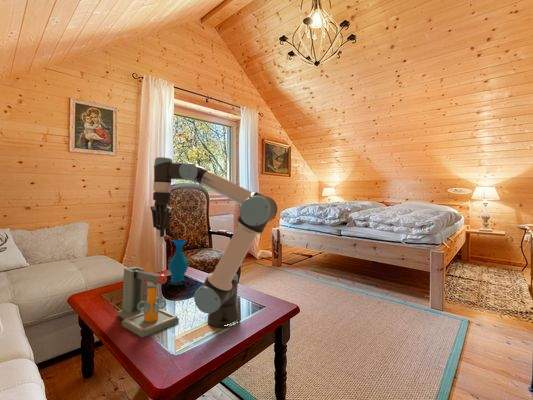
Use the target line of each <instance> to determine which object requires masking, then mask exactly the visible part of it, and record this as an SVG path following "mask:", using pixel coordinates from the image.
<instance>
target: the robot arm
mask: <svg viewBox="0 0 533 400" xmlns="http://www.w3.org/2000/svg"><path fill="white" fill-rule="evenodd" d="M153 165H154V166H153V184H152V185H153V186H152V187H153V188H152V190H153V193H152V200H153V201H154V205H153V206H150V211H151V215H152V216H151V217H152V227H153V228H155V230H156V243H155V244H156V245H162V244H163V245H164V241H165V235H166V234H165V231H166V229H169V226H170V225H169V224H170V220H171V215H172V212H173V210H174V208H173V207H170V201H171V200H172V199H171V197H172V195H171V194H172V193H171V191H172V180H184V181H192V182H196V183H197V184H199V185H201V186H203V187H205V188H208V189H210V190H211V191H212V192H215V193H217V194H219V195H221V196H222V197H225V198H226V199H229V200H231V201H233V202H234V203H236V204H238V205H240V208H239V216H238V217H237V225H238V226H237V227H236V229H235V231H234V233H233V234H232V237H231V238H230V240H229V242H228V244H227V246H226V247H225V250H224V252H223V254H222V255H221V258H220V259H219V261H218V263H217V265H216V267H215V268H214V271H213V272H210V273H209V274H207V276H206V277H205V280H204V282H203V284H202V285H201V286H199V287H198V288H197V289H196V290H195V292H194V296H193V299H194V300H193V301H194V303H195V306H196V307H197V309H198V310H199V311H201V312H202V313H203V314H207V323H208V324H209V325H210V326H212V327H215V328H222V329H223V328H225V329H226V328H229V327H228V326H229V325H228V326H224V325H227V324H230V323H232V322H234V321H236V320H237V319H238V318H239V316H240V312H239V310H238V309H239V308H238V304H237V303H238V286H239V285H238V284H239V283H238V282H239V276H238V274H237V273H238V270H239V268H240V266H241V264H242V263H243V261H244V259H245V258H246V255H247V254H248V252H249V250H250V248H251V246H252V245H253V242H254V241H255V239H256V237H257V235H260V234H262V233H263V232H264V230H265V228H266V227H267V224H268V223H269V222H272V220H274V218H275V217H276V216H277V213H278V205H277V203H276V201H275V200H274V199H273V198H272V197H270V196H268V195H264V194H261V193H259V192H257V191H255V192H253V191H250V190H248V189H246V188H244V187H242V186H240V185H238V184H236V183H234V182H232V181H230V180H228V179H226V178H224V177H223V176H220V175H219V174H216V173H214V172H211V171H210V170H208V169H207V168H205V167H204V166H201V165H197V164H195V163H193V162H187V161H185V162H173V159H172V158H170V157H166V156H165V157H161V156H160V157H156V158H155V159H154V164H153ZM239 319H240V318H239Z"/></svg>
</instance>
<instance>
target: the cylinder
mask: <svg viewBox="0 0 533 400" xmlns="http://www.w3.org/2000/svg"><path fill="white" fill-rule="evenodd" d="M158 287H159V286H158ZM158 287H155V288H147V297H146V299H145V300H143V301H141V302H139V303H138V305H137V309H138V310H140V311H143V313H144V321H145V322H154V321H156V320H158V313H159V309H162V310H164V309H165V308H166V306H167V302H166V300H165V299H160V297H159V296H158ZM160 302H162V303H164V305H163V306H161V307H160V306H159V305H160ZM141 303H142V304H144V305H143V309H140V308H139V305H140V304H141Z"/></svg>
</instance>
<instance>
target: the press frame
mask: <svg viewBox="0 0 533 400" xmlns="http://www.w3.org/2000/svg"><path fill="white" fill-rule="evenodd" d="M133 270H142V271H145V268H141V267H139V266H132V267H126V268H123V280H122V281H123V283H122V284H123V285H122V289H123V290H122V302H121V303H122V305H121V310H118V311H117V316H118V317H120V318H121V319H123V320H122V321H121V326H122V327H123V328H125V329H127V330H128V331H130V332H132V333H133V334H135V335H137V336H139V337H140V338H144V337H147V336H150V335H152V334H155V333H157V332H159V331H162V330H164V329H166V328H168V327H169V328H170V327H171V326H174V325H176V324H178V323H180V321H179V319H180V318H179V317H178V315H176V314H175V315H174V314H172V313H171V312H168V311H166V310H164V309H159V313H158V320H156V321H154V322H145V321H144V313H143V311H140V310H138V309H137V305H138V303H139V302H141V301H144V300H143V297H144V295H143V294H144V281H145V280H141V279H137V278H134V271H133ZM139 308H140V309H143V308H144V306H143V303H141V304H140V305H139Z"/></svg>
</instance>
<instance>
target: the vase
mask: <svg viewBox="0 0 533 400" xmlns="http://www.w3.org/2000/svg"><path fill="white" fill-rule="evenodd" d="M172 242H173V244H174V245H175V253H174V255H173V256H172V257H171V259H170V261H169V263H168V270H169V272H170V274H171V280H170V281H171V282H173V283H177V282H181V281H183V280H185V274H186V272H187V270H188V268H189V260H188V259H187V258H186V256H185V255H184V252H183V246H184V244H185V243H186V242H187V240H186V239H173V240H172ZM169 284H170V285H172V286H179V285H184V284H183V283H181V284H172V283H170V282H169Z"/></svg>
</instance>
